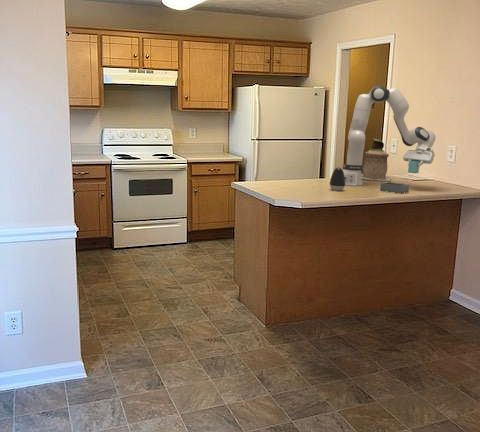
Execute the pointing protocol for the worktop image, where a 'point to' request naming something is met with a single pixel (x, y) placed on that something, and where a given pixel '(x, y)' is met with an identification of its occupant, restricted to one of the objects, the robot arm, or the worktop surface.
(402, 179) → the worktop surface
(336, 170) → the black tapered dome
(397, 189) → the charcoal crate
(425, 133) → the robot arm
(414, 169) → the teal crate
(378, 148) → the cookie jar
